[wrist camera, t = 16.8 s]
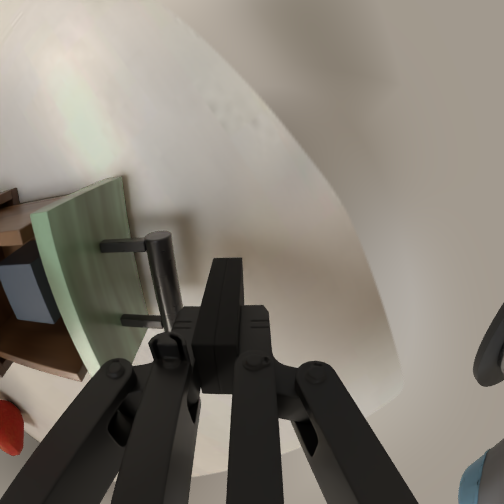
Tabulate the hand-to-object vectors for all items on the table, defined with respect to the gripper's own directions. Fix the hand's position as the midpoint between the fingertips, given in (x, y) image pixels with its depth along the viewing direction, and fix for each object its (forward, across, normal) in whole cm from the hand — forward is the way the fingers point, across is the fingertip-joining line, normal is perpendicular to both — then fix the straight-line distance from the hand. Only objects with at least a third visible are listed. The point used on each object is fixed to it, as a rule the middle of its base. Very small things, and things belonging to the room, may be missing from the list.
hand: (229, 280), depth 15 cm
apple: (+5, -48, -34) cm, 59 cm away
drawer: (+4, -12, 0) cm, 13 cm away
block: (+3, -14, 0) cm, 14 cm away
